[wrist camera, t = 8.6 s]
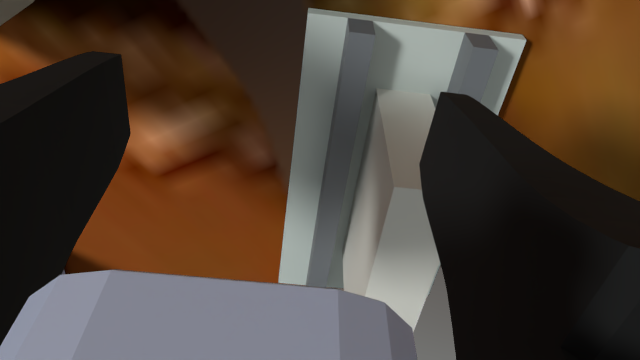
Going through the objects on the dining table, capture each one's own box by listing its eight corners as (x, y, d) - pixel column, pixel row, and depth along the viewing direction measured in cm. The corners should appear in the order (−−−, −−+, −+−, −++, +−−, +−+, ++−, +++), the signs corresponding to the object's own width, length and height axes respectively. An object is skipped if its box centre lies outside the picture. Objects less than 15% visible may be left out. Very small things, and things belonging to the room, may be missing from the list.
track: (279, 275, 30) (276, 303, 29) (308, 7, 21) (306, 26, 19) (426, 287, 31) (432, 316, 29) (522, 34, 21) (539, 55, 20)
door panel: (342, 250, 28) (346, 363, 23) (376, 88, 22) (394, 187, 17) (384, 254, 28) (399, 367, 23) (430, 94, 22) (465, 194, 17)
